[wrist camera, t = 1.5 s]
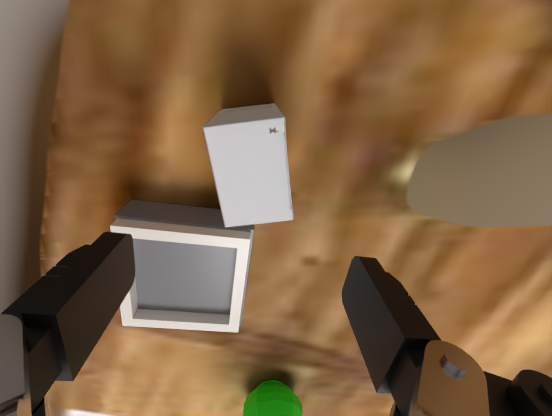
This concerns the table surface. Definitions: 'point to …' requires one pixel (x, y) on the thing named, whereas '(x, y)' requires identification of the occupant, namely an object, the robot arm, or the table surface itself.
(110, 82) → the table surface
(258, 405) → the plastic bottle
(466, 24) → the table surface
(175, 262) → the grey square tray
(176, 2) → the table surface
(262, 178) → the small box
